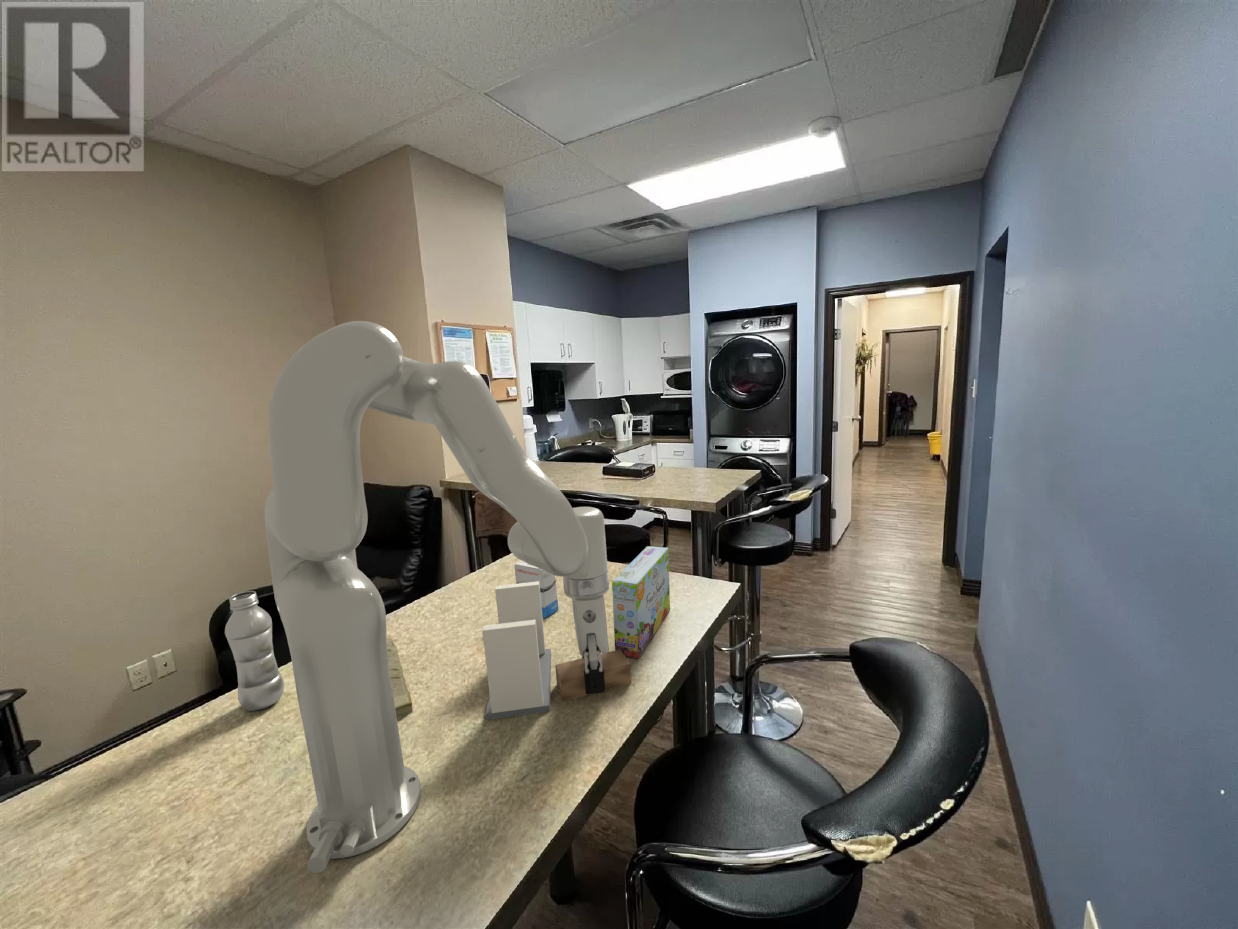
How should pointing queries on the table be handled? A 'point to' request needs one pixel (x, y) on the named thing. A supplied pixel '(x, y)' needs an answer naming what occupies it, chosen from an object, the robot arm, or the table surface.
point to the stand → (517, 654)
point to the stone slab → (398, 681)
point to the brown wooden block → (573, 671)
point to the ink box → (546, 583)
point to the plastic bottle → (253, 653)
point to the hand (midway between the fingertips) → (593, 675)
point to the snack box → (641, 600)
